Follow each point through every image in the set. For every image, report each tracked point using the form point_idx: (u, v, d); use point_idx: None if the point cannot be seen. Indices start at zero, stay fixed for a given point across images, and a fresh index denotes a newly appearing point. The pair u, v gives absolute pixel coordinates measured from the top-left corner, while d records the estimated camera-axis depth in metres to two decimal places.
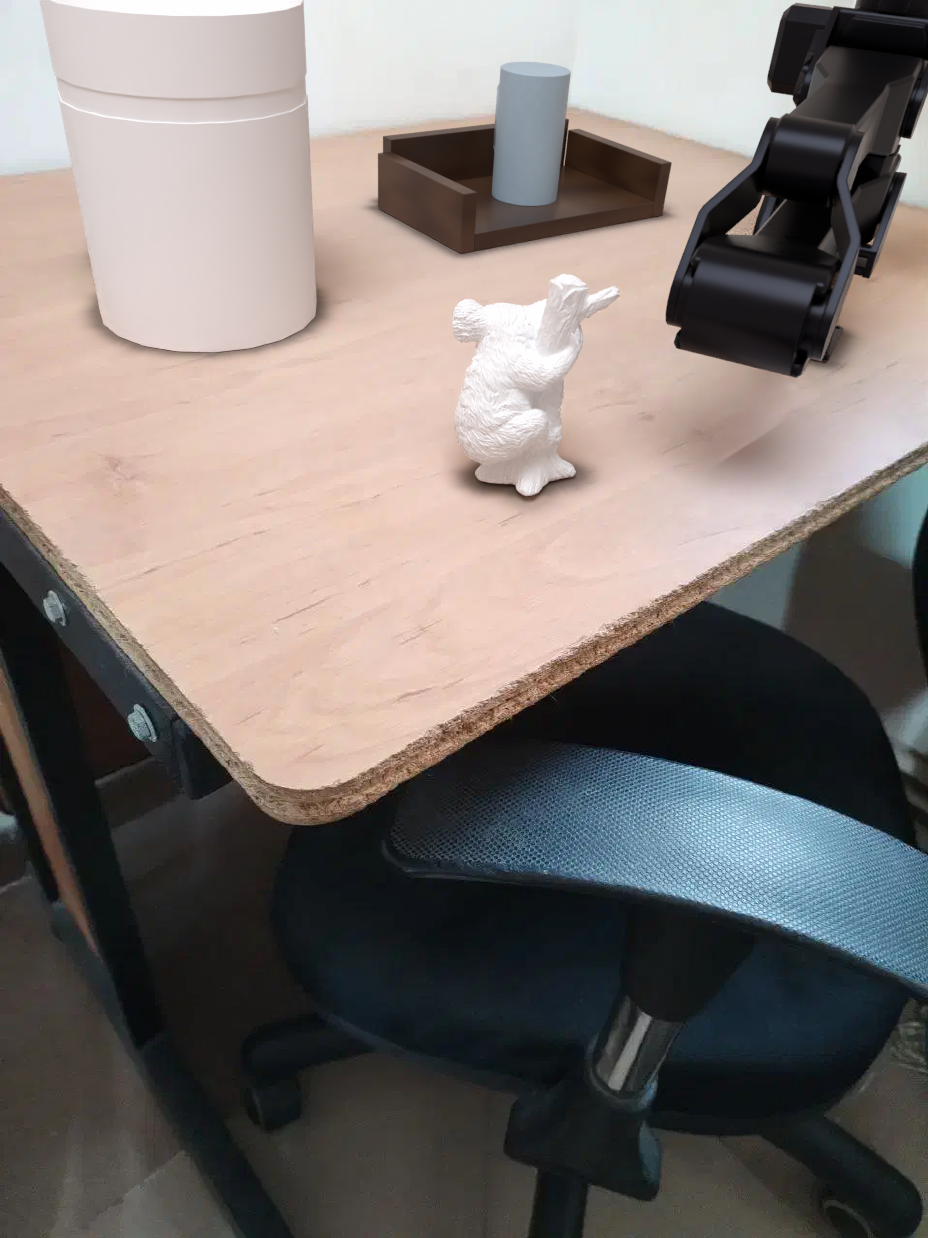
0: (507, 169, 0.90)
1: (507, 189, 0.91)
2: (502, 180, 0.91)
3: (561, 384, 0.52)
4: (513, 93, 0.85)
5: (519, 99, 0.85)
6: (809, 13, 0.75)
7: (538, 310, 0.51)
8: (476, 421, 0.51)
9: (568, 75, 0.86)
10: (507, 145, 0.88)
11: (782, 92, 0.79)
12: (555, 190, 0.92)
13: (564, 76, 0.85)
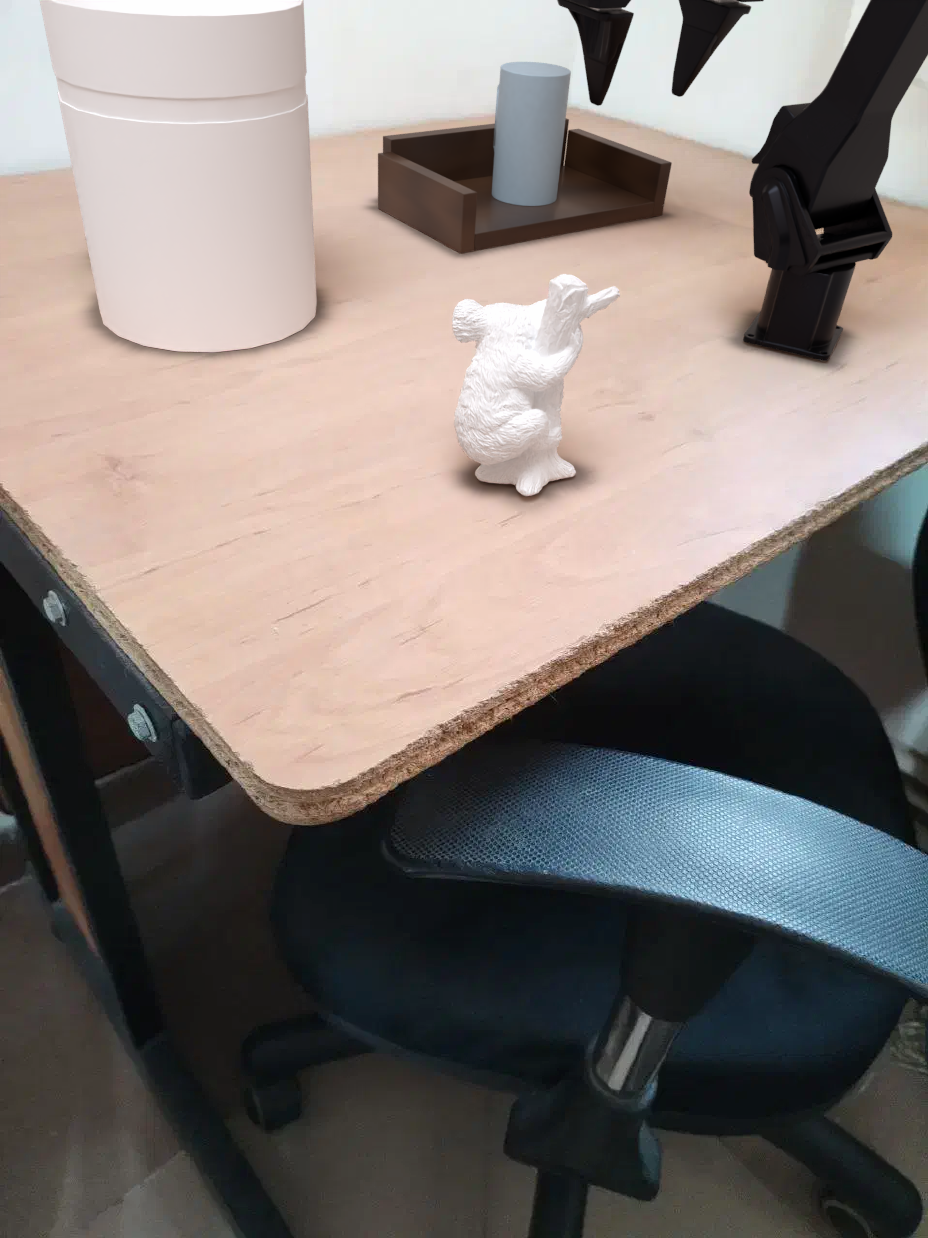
0: (507, 169, 0.90)
1: (507, 189, 0.91)
2: (502, 180, 0.91)
3: (561, 384, 0.52)
4: (513, 93, 0.85)
5: (519, 99, 0.85)
6: None
7: (538, 310, 0.51)
8: (476, 421, 0.51)
9: (568, 75, 0.86)
10: (507, 145, 0.88)
11: None
12: (555, 190, 0.92)
13: (564, 76, 0.85)
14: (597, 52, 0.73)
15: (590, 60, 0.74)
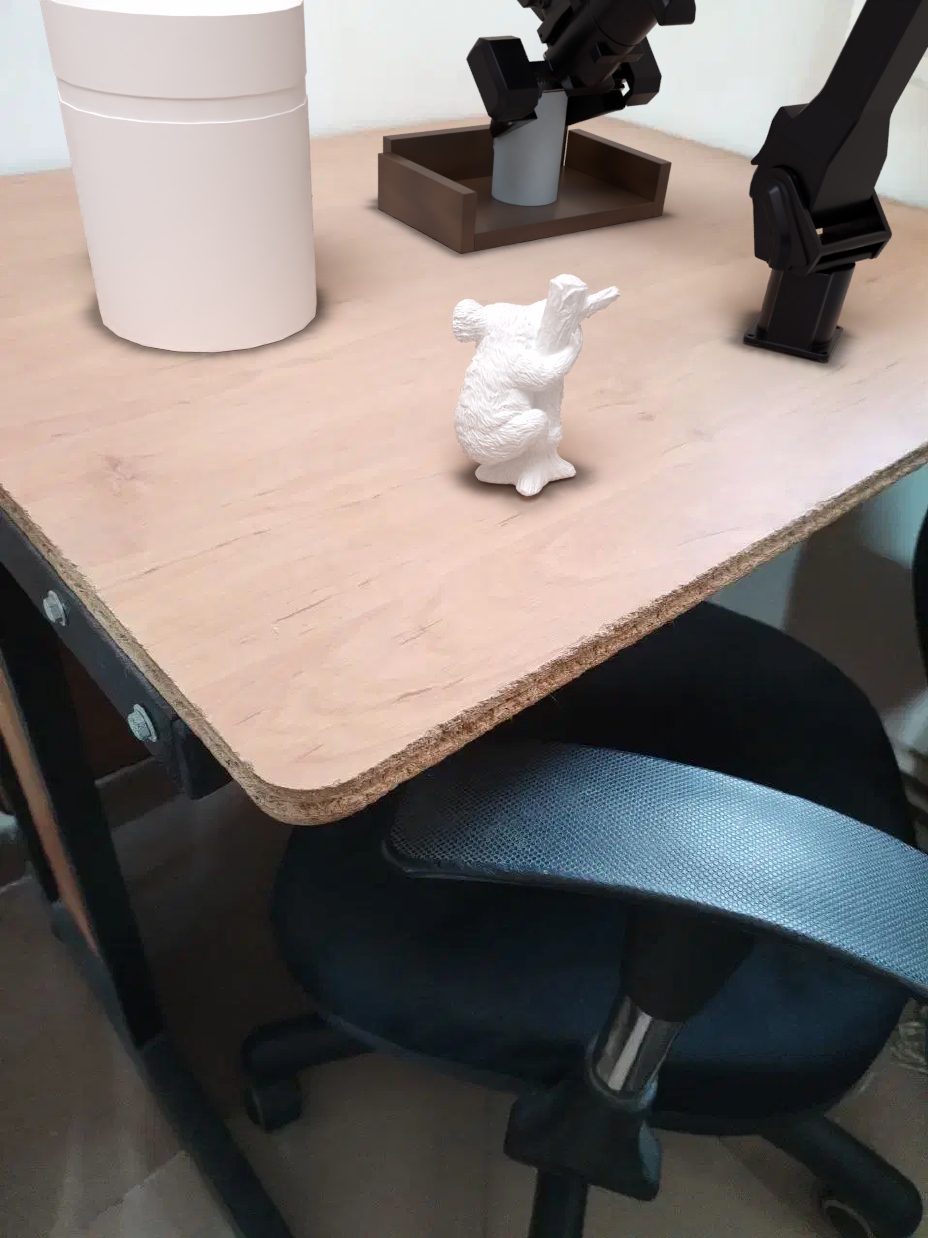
0: (507, 169, 0.90)
1: (507, 189, 0.91)
2: (502, 180, 0.91)
3: (561, 384, 0.52)
4: None
5: None
6: (498, 37, 0.79)
7: (538, 310, 0.51)
8: (476, 421, 0.51)
9: None
10: (507, 145, 0.88)
11: (515, 104, 0.79)
12: (555, 190, 0.92)
13: None
14: None
15: None
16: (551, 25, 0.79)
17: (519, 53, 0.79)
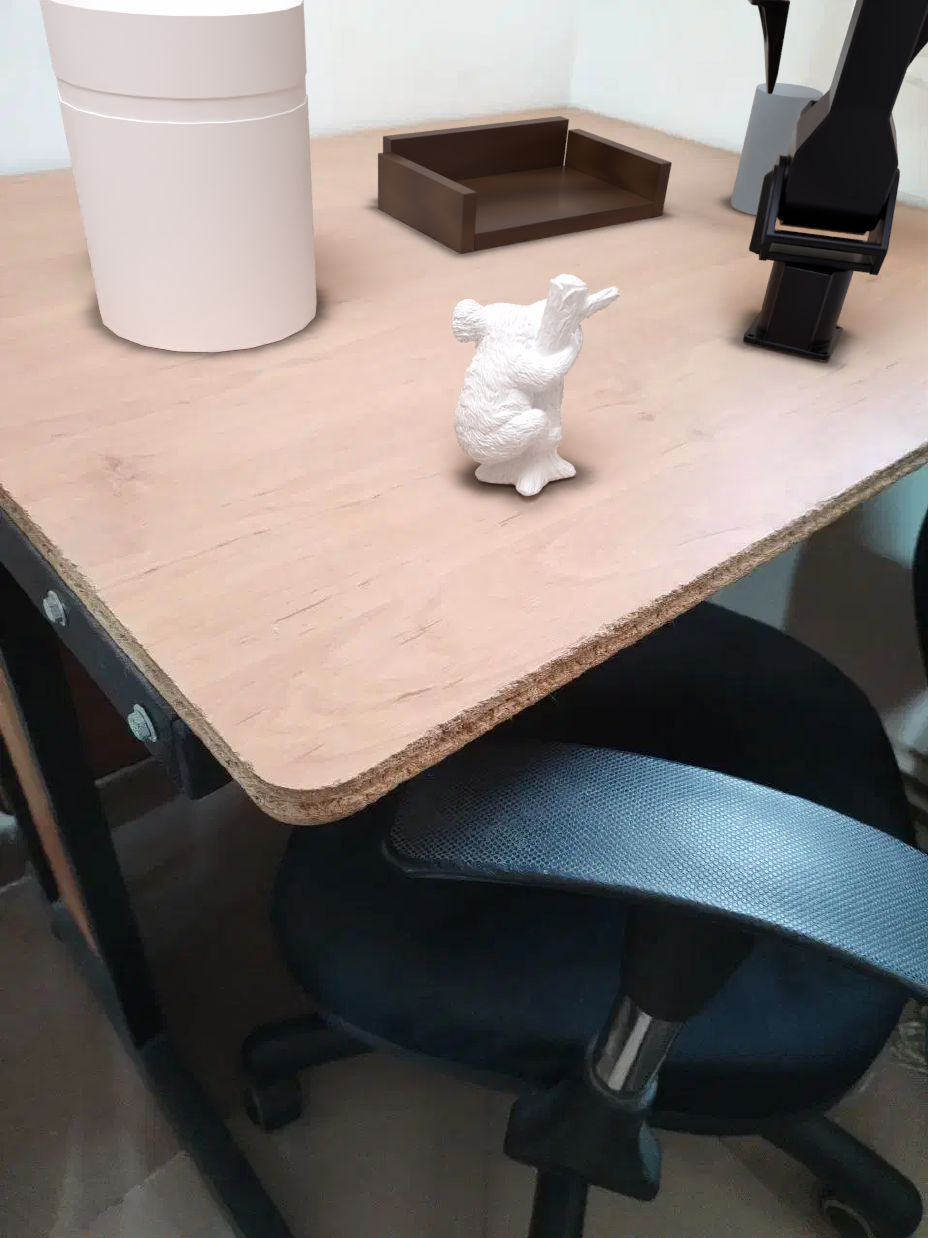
0: (739, 176, 0.98)
1: (736, 195, 0.99)
2: (735, 186, 0.99)
3: (561, 384, 0.52)
4: (754, 107, 0.94)
5: (757, 113, 0.93)
6: None
7: (538, 310, 0.51)
8: (476, 421, 0.51)
9: (810, 99, 0.91)
10: (743, 154, 0.97)
11: None
12: None
13: (803, 98, 0.91)
14: None
15: (765, 49, 0.80)
16: None
17: None
